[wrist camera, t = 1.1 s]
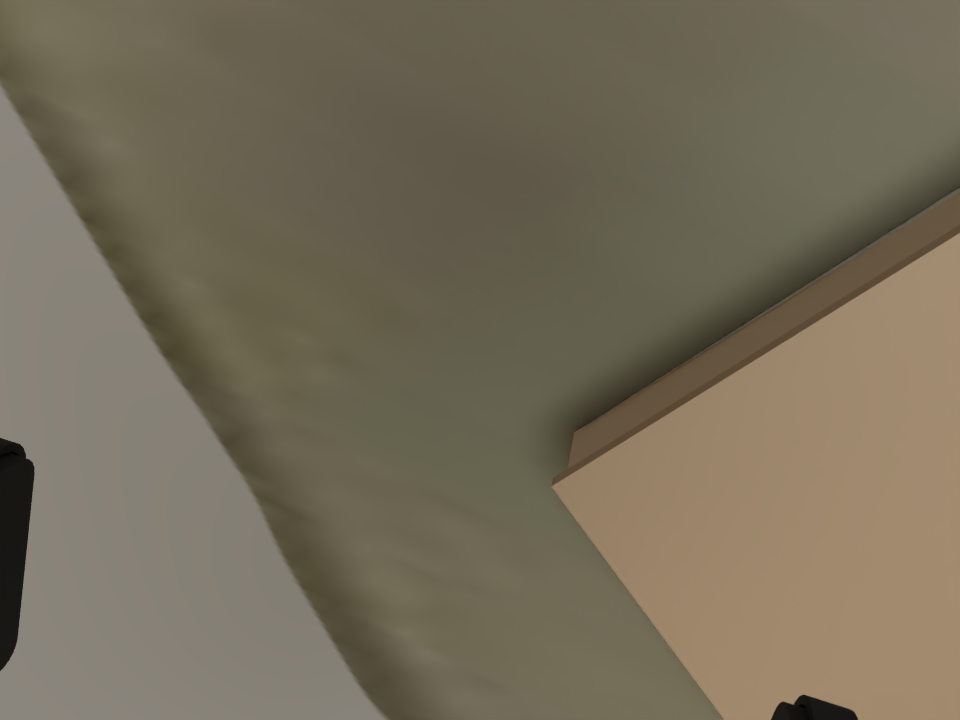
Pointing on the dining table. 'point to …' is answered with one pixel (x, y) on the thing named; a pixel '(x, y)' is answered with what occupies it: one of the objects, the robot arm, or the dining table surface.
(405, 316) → the dining table surface
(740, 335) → the lidded box
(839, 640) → the lid
